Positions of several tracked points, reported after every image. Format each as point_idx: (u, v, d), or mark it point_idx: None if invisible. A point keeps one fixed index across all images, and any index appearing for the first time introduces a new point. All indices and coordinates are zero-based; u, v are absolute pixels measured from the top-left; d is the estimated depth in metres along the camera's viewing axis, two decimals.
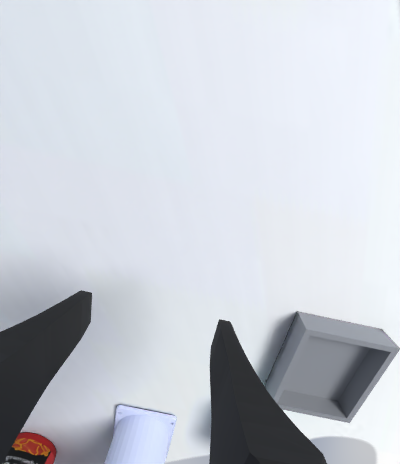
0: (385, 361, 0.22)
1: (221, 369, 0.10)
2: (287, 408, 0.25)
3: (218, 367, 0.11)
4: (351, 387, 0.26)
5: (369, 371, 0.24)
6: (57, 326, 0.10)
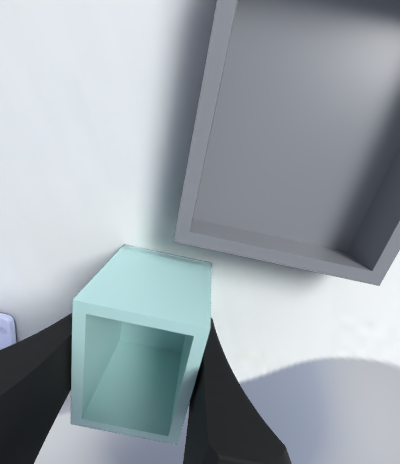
0: None
1: None
2: (219, 246, 0.10)
3: None
4: (383, 196, 0.10)
5: None
6: None
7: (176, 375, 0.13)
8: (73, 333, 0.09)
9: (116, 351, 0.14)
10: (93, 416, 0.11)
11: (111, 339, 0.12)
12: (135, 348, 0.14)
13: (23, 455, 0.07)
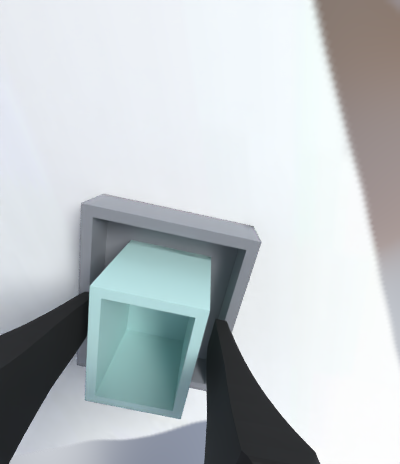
0: (242, 271, 0.12)
1: (216, 368, 0.10)
2: None
3: (214, 366, 0.11)
4: None
5: (228, 297, 0.14)
6: (62, 327, 0.10)
7: (179, 360, 0.14)
8: (89, 316, 0.10)
9: (123, 338, 0.15)
10: (105, 393, 0.12)
11: (120, 326, 0.14)
12: (141, 336, 0.16)
13: None
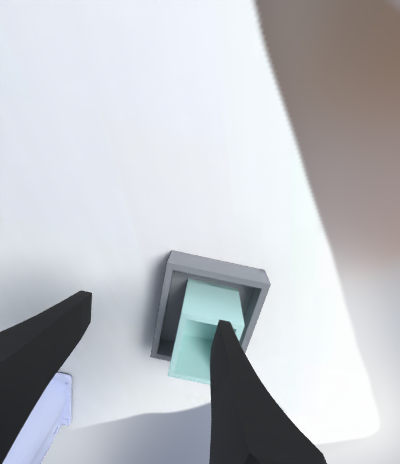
0: (258, 300, 0.21)
1: (221, 369, 0.10)
2: (169, 359, 0.24)
3: (218, 367, 0.11)
4: None
5: (249, 314, 0.22)
6: (57, 326, 0.10)
7: None
8: (178, 328, 0.18)
9: None
10: (179, 372, 0.20)
11: None
12: (191, 338, 0.24)
13: None
